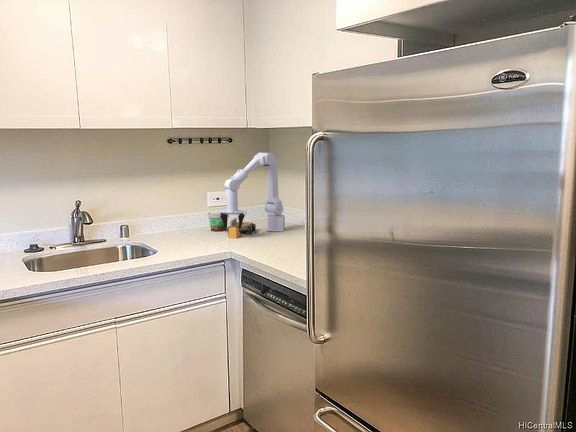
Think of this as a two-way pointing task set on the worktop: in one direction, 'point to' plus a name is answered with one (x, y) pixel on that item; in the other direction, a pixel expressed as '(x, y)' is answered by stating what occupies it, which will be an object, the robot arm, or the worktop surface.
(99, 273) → the worktop surface
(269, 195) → the robot arm
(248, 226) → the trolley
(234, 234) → the block
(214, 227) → the food container
